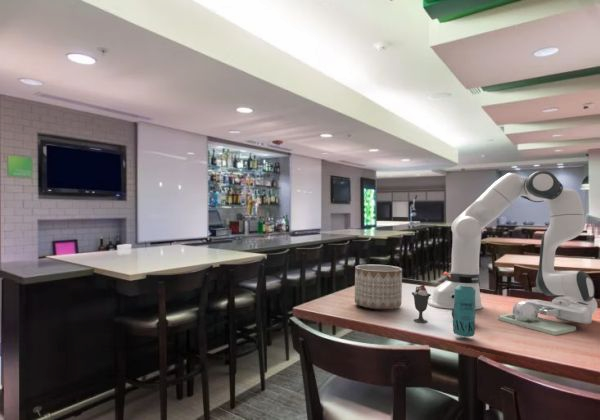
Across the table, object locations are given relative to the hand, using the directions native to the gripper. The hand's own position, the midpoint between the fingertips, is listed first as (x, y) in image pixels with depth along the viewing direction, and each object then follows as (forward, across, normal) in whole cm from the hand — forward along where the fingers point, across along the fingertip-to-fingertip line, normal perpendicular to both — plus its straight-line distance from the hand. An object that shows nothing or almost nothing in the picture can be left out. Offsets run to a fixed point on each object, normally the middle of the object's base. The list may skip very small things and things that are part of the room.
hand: (543, 312), depth 131 cm
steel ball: (+1, -6, +1) cm, 6 cm away
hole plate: (-1, -4, +5) cm, 7 cm away
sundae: (+35, -24, +6) cm, 42 cm away
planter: (+35, -47, +6) cm, 59 cm away
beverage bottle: (+36, -4, +6) cm, 37 cm away
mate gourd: (+22, -16, +6) cm, 28 cm away
